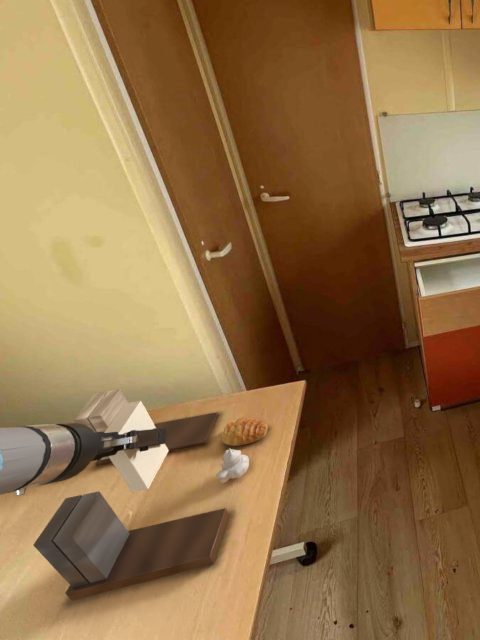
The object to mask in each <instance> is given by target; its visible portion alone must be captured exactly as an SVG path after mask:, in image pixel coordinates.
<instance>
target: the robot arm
mask: <svg viewBox="0 0 480 640" xmlns="http://www.w3.org/2000/svg"><path fill="white" fill-rule="evenodd" d="M165 436H166V428H163V429H158V428H154V429H150V430H140V431H139V430H137V431H136V430H131V431H130V432H126V433H124V434H118V432H109V433H104V432H96V433H94V431H93V430H92V429H91V428H90V427H88V426H86V425H84V424H81V423H75V422H65V423H51V424H50V423H49V424H48V423H47V424H46V423H45V424H44V423H43V424H33V425H32V424H31V425H21V426H20V425H19V426H12V427H0V496H1V495H5V494H10V493H13V495H14V497H21V496H24V495H25V494H26V493H27V489H31V488H35V487H40V486H47V485H51V484H55V483H59V482H63V481H67V480H69V479H72V478H74V477H75V476H78V475H79V474H80V473H82V472H83V471H84V470H85V469H86V468H87V467H88V466H90V464H91V462H96V461H97V460H100V459H101V458H103V457H107V456H112V455H115V454H116V453H117V452H118V451H121V450H127V449H134V448H140V452H142V451H147V450H148V448H149V446H155V445H160V444H165Z"/></svg>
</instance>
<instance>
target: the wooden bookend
mask: <svg viewBox="0 0 480 640" xmlns="http://www.w3.org/2000/svg"><path fill="white" fill-rule="evenodd" d="M125 403H129V401H128V400H127V398H126V397H125V395H124V393H123V391H122V390H121V388H120V389H114V390H113V389H112V390H108V391H102V392H96V393H94V394H93V395H92V396H91V398H90V399H89V400H88V401H87V403H85V405H84V407H82V409H81V410H80V411H79V412H78V413H77V415H76V416H75V417H74V418H73V420H72V421H73V423H81V424H84V425H86V426H88V427H90V428H91V429H92V430H93V431H94V433H96V432H105V431H106V430H107V428H108V427H109V425H110V424H111V423H112V421H113V420H114V418H115V417H116V415H117V414H118V413H119V411H120V410H121V408H122V407H123V406H124V404H125ZM218 417H219V412H218V411H216V412H211V413H206V414H201V415H200V414H199V415H195V416H190V417H184V418H183V417H182V418H178V419H173V420H168V421H163V422H158V423H157V422H156V423H154V425H155V427H156V428H158V429H163V428H166V436H165V445H166V447H167V448H168V450H169V451H168V453H170V452H176V451H180V450H181V451H182V450H185V449H191V448H195V447H201V446H206V444H207V442H208V440H209V438H210V435H211V434H212V431H213V430H214V427H215V424H216V422H217V420H218ZM111 464H113V463H112V461H111V460H110V458H109V457H108V456H107V457H103V458H101V459H100V460H96V461H95V465H96V467H100V466H105V465H111Z"/></svg>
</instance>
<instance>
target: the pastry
mask: <svg viewBox="0 0 480 640" xmlns="http://www.w3.org/2000/svg"><path fill="white" fill-rule="evenodd" d="M267 433H268V425H267V424H266V423H265V422H262V420H257V419H256V418H253V419H252V418H248V417H247V418H243V417H241V418H238V419H237V420H230V421H228V423H226V425H225V427H224V429H223V432H222V436H221V441H222V443H223V444H225V445H228V446H229V447H230V446H235V447H238V446H242V445H247V444H251V443H252V444H253V443H255V442H258V441H260V440H262V439H263V438H265V436H266V434H267Z"/></svg>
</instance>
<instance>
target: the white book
mask: <svg viewBox="0 0 480 640" xmlns="http://www.w3.org/2000/svg"><path fill="white" fill-rule="evenodd" d="M154 424H155V423H154V421H153V420H152V418H151V416H150V414H149V412H148V411H147V409H146V406H144V404H143V402H142V400H137V401H131V402H128V403H125V404H124V406H123V407H122V408H121V410H120V411H119V413H118V414H117V415H116V417H115V418H114V420H113V421H112V423H111V424H110V425H109V427H108V428H107V430H106V431H105V432H104V433H109V432H118V434H124V433H126V432H130V431H131V430H136V431H137V430H139V431H140V430H150V429H154V428H156V427H155V425H154ZM168 451H169V450H168V448H167V447H166V445H165V444H160V445H155V446H149V448H148V450H147V451H142V452H140V448H134V449H127V450H121V451H118V452H117V453H116V454H115V455H112V456H108V457H109V458H110V460H111V461H112V463H111V464H112V465H113V466H114V468H115V469H116V470H117V472H118V473H119V475H120V476H121V478H122V479H123V481H124V483H125V484H126V486H127V487H128V488H129V490H130V492H131V493H137V492H142V491H147V490H149V489H150V487H151V485H152V483H153V481H154V480H155V477H156V476H157V473H158V472H159V470H160V468H161V466H162V465H163V462H164V460H165V459H166V456H167V455H168V453H169V452H168Z"/></svg>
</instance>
